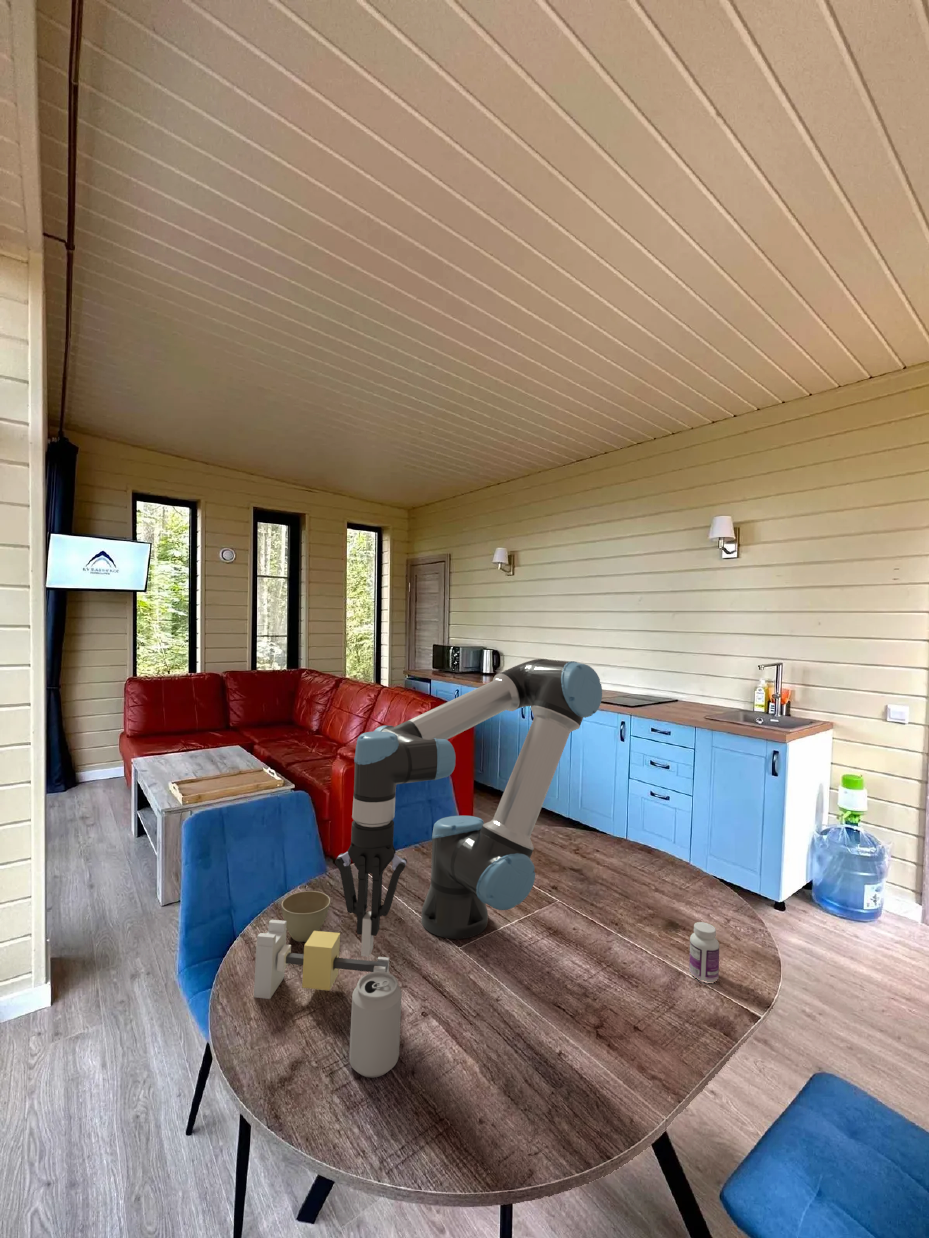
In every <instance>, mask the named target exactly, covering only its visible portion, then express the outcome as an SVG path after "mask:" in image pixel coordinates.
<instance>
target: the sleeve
mask: <svg viewBox="0 0 929 1238" xmlns="http://www.w3.org/2000/svg"><path fill="white" fill-rule="evenodd" d="M340 944H341V932H332V931H321V930H320V931H313V933H312V934H311V936H310V937H309V939H308V941H306V942H305V943H304V947H303V954H304V961H303V965H302V982H301V983H302V985H301V986H302V987H301V988H302V989H311V990H312V989H313V990H319V991H320V990H321V991H327V992H328V991H330V990H331V989H332V987H333V985H334V983H335V981H336V979H337V977H338V976H339V970H340V969H336V968H333V961H334V959H335V957H336V958H340V947H341V945H340Z"/></svg>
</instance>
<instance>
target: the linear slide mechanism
mask: <svg viewBox="0 0 929 1238" xmlns="http://www.w3.org/2000/svg"><path fill="white" fill-rule="evenodd" d="M286 922H287V921H284V920H281V919H280V920H279V919H270V920H269V922H268V928H267V929H268V931H267V932H266V933H263V932H259V934H258V935H257V936H256V947H255V961H254V962H255V963H254V964H255V965H254V986H253V998H258V999H259V998H260V999H267V1000H271V998H272V996H273V995H274V993H275V992H276V990H278V988H279V986H280V985H281V983H282V981H283V980H284V978H285V971H286V969H287V967H288V966H289V965H299V966H303V961H304V953H295V952H294V953H292V945H291V944H287V931H288V930H287V928H286ZM333 968H336V969H339V970H348V971H357V972H358V971H359V972H368V973H371V972H377V971H382V972H387V973H390V957H385V956H378V957H377V960H375V961H374V960H364V959H356V958H347V957H345V958H344V957H339V958H336V957H335V959H334V961H333Z"/></svg>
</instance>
